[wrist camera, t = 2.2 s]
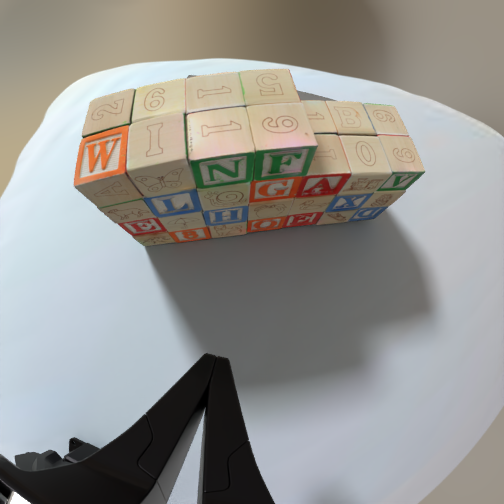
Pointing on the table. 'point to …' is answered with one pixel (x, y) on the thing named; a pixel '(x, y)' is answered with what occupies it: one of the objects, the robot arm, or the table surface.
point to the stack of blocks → (239, 157)
